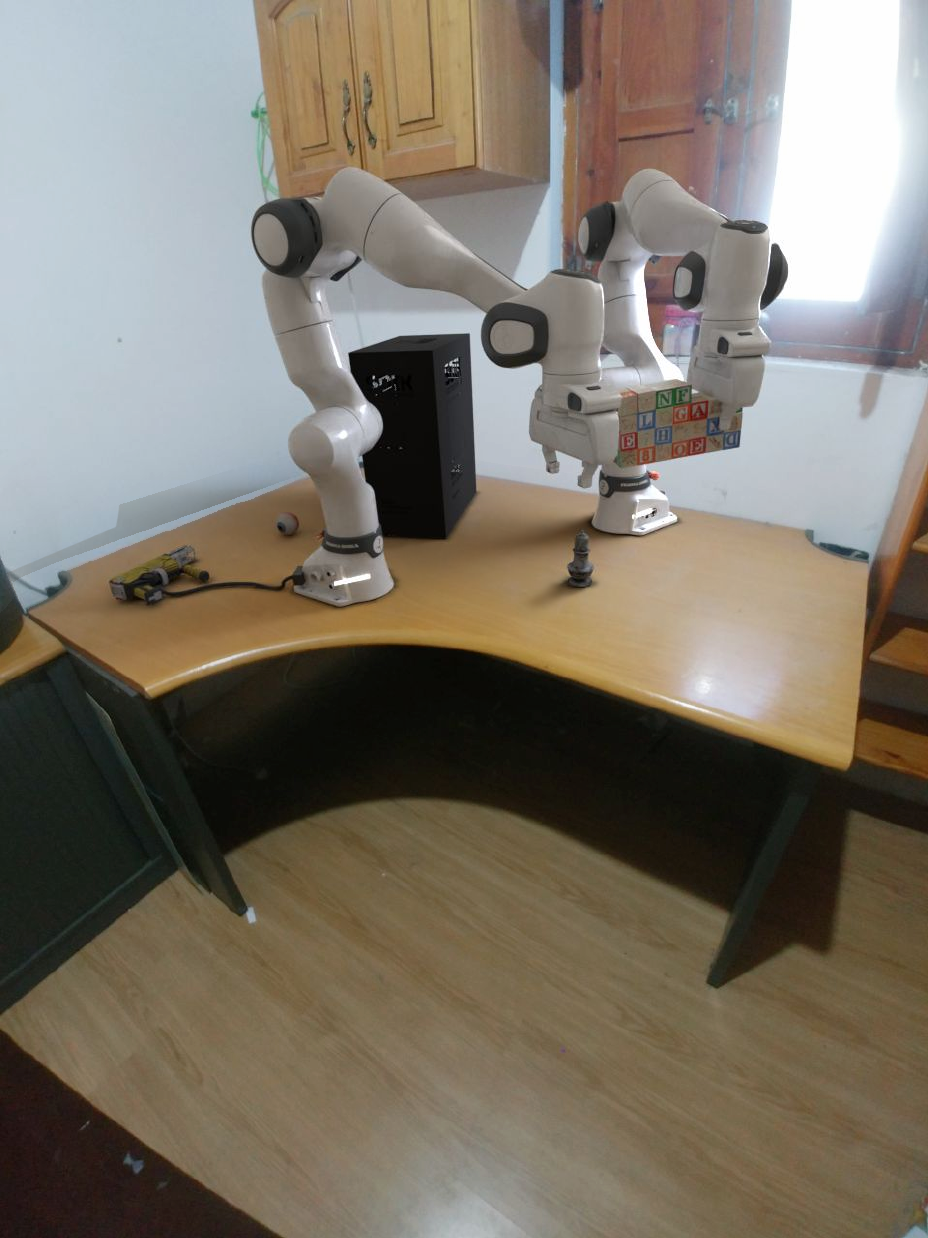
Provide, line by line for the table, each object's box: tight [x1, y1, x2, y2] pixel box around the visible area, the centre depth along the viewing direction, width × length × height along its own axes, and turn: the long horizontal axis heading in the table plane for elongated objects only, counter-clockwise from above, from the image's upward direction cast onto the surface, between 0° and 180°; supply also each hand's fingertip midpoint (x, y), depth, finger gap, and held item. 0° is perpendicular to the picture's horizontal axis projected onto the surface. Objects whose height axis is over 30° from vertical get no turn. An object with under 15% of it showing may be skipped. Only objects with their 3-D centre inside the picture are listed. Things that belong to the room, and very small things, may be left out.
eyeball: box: [275, 511, 300, 536], centre depth 163 cm, size 6×6×6 cm
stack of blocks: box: [613, 379, 744, 468], centre depth 105 cm, size 21×6×12 cm, turn 95°
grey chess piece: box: [566, 529, 595, 588], centre depth 129 cm, size 6×6×12 cm
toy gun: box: [108, 544, 210, 607], centre depth 141 cm, size 5×24×15 cm
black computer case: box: [347, 332, 477, 540], centre depth 163 cm, size 38×20×45 cm, turn 167°
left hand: (567, 479), depth 99 cm, fingers open, 8 cm apart
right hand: (713, 423), depth 106 cm, fingers closed on stack of blocks, 6 cm apart
